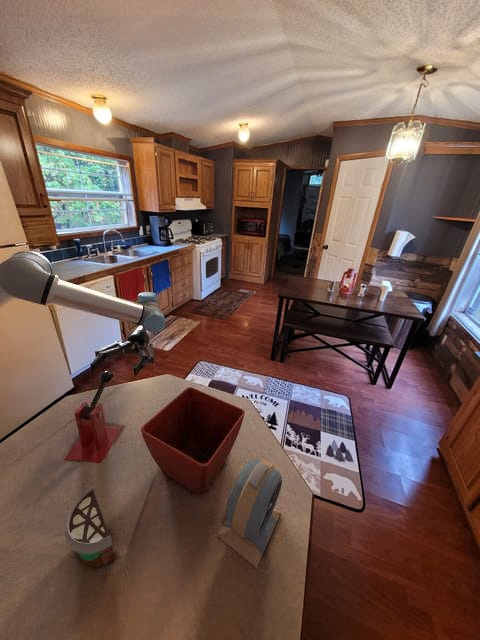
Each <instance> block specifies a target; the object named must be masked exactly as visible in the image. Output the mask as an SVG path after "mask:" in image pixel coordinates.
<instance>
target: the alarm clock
mask: <svg viewBox="0 0 480 640" xmlns="http://www.w3.org/2000/svg"><path fill="white" fill-rule="evenodd" d="M282 484H283V477H282V475H281V473H280V471H279V470H277V469H276V467H275V465H273V464H272V463H270V462H268V461H266V460H265V459H263V460H261V459H258V458H255V459H253V458H252V459H250V461H248V462H247V463H246V464H245V465H244V467H242V469H241V471H240V473H239V474H238V475H237V478H236V479H235V481H234V484H233V486H232V488H231V490H230V493H229V495H228V499H227V502H226V508H225V516H226V519H225V521H224V523H223V526H222V528H220V531H219V532H218V533H217V537H218V538H219V539H220V538H221V539H220V540H221V541H223V540H224V541H225V542H226V543H227V544H226V543H225V542H224V541H223V542H224V543H225V544H226V545H228V546H229V547H230V546H231V547H232V548H233V550H234V552H236V551H237V552H238V553H237V552H236V553H237V554H238V555H239V556H241V555H242V556H243V557H244V558H243V557H242V556H241V557H242V558H243V559H245V560H246V561H247V560H248V561H249V562H248V561H247V562H248V563H249V564H250V565H252V564H253V565H254V566H255V567H254V566H253V565H252V566H253V567H254V568H255V569H258V566H259V564H260V562H261V559H262V558H263V555H264V552H265V550H266V548H267V546H268V544H269V540H270V539H271V537H272V534H273V531H274V529H275V527H276V525H277V522H278V520H279V518H280V516H281V514H282V513H281V511H280V510H278V509H277V508H275V507H276V505H277V502H278V498H279V496H280V493H281V489H282ZM231 547H230V548H231ZM232 548H231V549H232Z"/></svg>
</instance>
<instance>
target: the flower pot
mask: <svg viewBox="0 0 480 640" xmlns="http://www.w3.org/2000/svg"><path fill="white" fill-rule="evenodd" d="M245 413H246V411H245V410H244V409H243V408H241V407H239V406H237V405H235V404H231V403H230V402H227V401H225V400H222V399H220V398H217V397H216V396H213V395H211V394H209V393H206V392H204V391H201V390H199V389H197V388H195V387H192V386H189V387H186V388H185V389H184V390H183V391H181V392H180V393H179V394H178V395H177V396H176V397H175V398H174V399H172V400H171V401H170V402H169V403H168V404H166V406H164V407H163V408H162V409H161V410H159V411H158V412H157V413H156V414H154V416H152V417H151V418H150V419H149V420H148V421H147V422H146V423H144V424H143V425H142V426H141V427H140V432H141V436H142V438H143V441H144V443H145V445H146V447H147V449H148V451H149V454H150V456H151V457H152V459H153V461H154V462H155V463H156V465H157V467H158V468H159V469H160V470H161V472H162V473H163V475H165V476H167V477H168V478H170V479H172V480H173V481H175V482H176V483H178V484H179V485H181V486H183V487H184V488H185V489H187V490H189V491H191V492H192V493H193V494H195V495H197V496H200V497H201V496H203V495H204V493H205V492H206V491H207V489H208V488H209V486H210V485H211V484H212V482H213V480H214V479H215V477H217V474H218V473H219V472H220V470H221V468H222V467H223V465H224V463H225V462H226V460H227V459H228V457H229V455H230V453H231V451H232V449H233V447H234V445H235V443H236V441H237V438H238V436H239V434H240V431H241V427H242V425H243V422H244V418H245ZM204 452H205V455H203V453H204Z"/></svg>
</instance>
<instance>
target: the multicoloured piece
mask: <svg viewBox="0 0 480 640" xmlns="http://www.w3.org/2000/svg"><path fill="white" fill-rule="evenodd" d="M65 540H66V543H67V545H68V546H69V548H70V549H71V550H72V551H74V552H76V553H77V554H78V556H79V558H80V560H81V561H82V563H83V564H84V565H85V566H86V567H89V568H90V569H91V568H92V569H99V568H103V567H106V566H108V565H110V564H111V563H113V562H114V561H116V558H115V557H116V556H115V552H114V546H113V544H114V543H113V539H112V536H111V534H110V532H109V530H108V528H107V525H106V522H105V519H104V516H103V513H102V511H101V508H100V505H99V502H98V499H97V496H96V492H95V487H94V486H92V487H90V488H89V489H87V490H86V491H85V492H83V494H81V495H80V496H79V498H77V500H75V502H74V504H73V506H72V508H71V509H70V511H69V513H68V516H67V519H66V524H65Z"/></svg>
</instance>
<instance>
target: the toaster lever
mask: <svg viewBox="0 0 480 640" xmlns="http://www.w3.org/2000/svg"><path fill="white" fill-rule="evenodd" d="M99 380H100V384H99V386H98V388H97V390H96V393H95V395H94V396H93V399H92V401H91V403H90V405H88V406H86V408H85V410H84V412H83V414H82V417H83V418H84V419H85V420H90V415H89V414H90V413H91V412H92V411H93V409H94V408H95V407H96V406H97V404H98V403H99V400H100V399H101V396H102V394H103V392H104V390H105V388H106V385H107V384H110V383H111V382H112V381H113V380H114V374H113V371H109V370H104V371H103V372H101V373H100V375H99Z"/></svg>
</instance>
